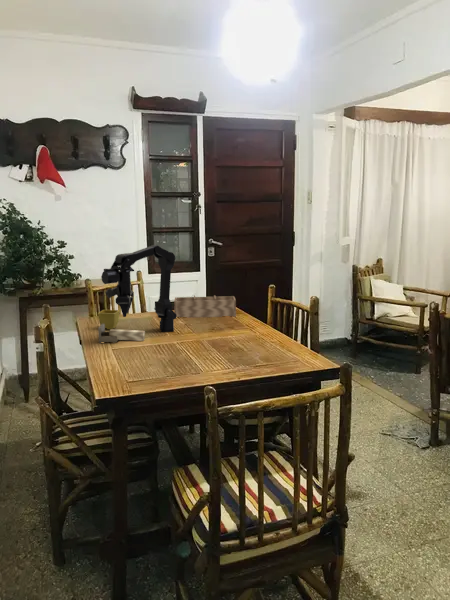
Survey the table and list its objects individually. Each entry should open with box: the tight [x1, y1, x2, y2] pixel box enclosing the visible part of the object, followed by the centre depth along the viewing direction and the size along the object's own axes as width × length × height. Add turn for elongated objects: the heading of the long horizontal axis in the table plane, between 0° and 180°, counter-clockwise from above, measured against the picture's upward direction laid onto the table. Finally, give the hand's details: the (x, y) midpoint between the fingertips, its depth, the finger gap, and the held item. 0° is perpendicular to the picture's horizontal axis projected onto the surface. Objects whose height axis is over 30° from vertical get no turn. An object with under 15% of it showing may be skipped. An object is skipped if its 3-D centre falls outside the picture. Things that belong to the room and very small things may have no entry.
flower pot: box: [97, 309, 121, 330], centre depth 252 cm, size 9×9×9 cm
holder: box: [173, 294, 237, 318], centre depth 284 cm, size 35×13×10 cm, turn 94°
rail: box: [108, 328, 146, 342], centre depth 230 cm, size 16×4×4 cm, turn 87°
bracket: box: [97, 324, 119, 344], centre depth 229 cm, size 8×10×7 cm
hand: (125, 314), depth 229 cm, fingers open, 9 cm apart
